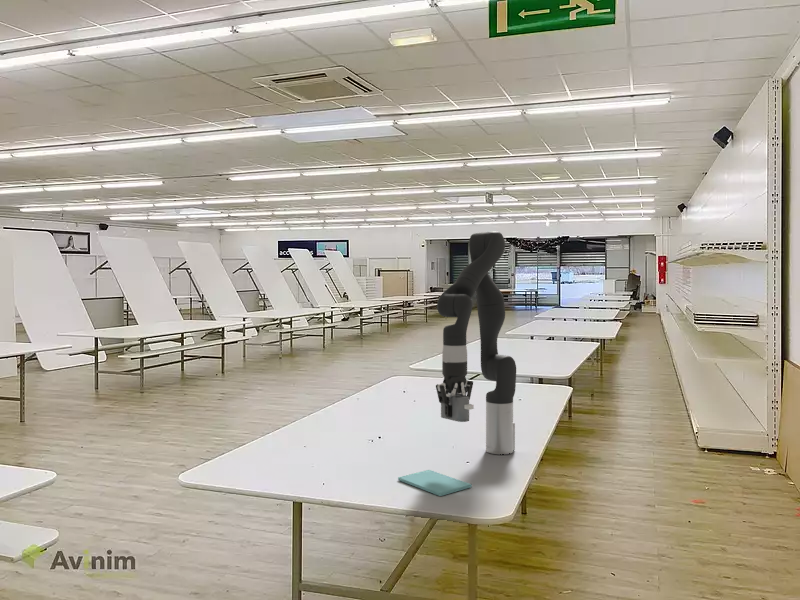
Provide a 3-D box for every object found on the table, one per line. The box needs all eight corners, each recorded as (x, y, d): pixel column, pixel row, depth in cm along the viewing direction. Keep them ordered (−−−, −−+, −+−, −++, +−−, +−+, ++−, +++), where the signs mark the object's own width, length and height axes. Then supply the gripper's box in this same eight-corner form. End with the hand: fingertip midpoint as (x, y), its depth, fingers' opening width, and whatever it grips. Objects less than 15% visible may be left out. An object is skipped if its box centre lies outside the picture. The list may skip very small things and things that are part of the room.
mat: (429, 472, 188) (429, 469, 188) (471, 487, 174) (471, 484, 174) (398, 480, 181) (398, 477, 181) (440, 496, 167) (440, 493, 167)
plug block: (448, 414, 193) (448, 392, 193) (476, 421, 184) (476, 397, 184) (437, 416, 191) (437, 394, 190) (465, 423, 181) (465, 399, 181)
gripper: (462, 357, 195) (462, 411, 195) (428, 360, 186) (429, 417, 186) (480, 359, 189) (480, 415, 189) (446, 362, 180) (446, 421, 180)
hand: (454, 415), depth 188 cm, fingers closed on plug block, 4 cm apart
